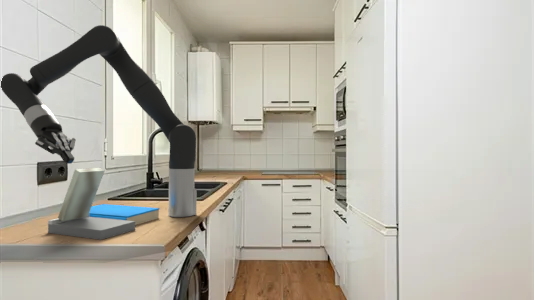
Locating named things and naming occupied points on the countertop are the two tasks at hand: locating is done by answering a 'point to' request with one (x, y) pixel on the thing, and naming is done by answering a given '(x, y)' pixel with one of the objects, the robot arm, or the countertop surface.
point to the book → (124, 213)
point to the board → (90, 227)
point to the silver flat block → (81, 193)
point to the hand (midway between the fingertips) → (70, 161)
